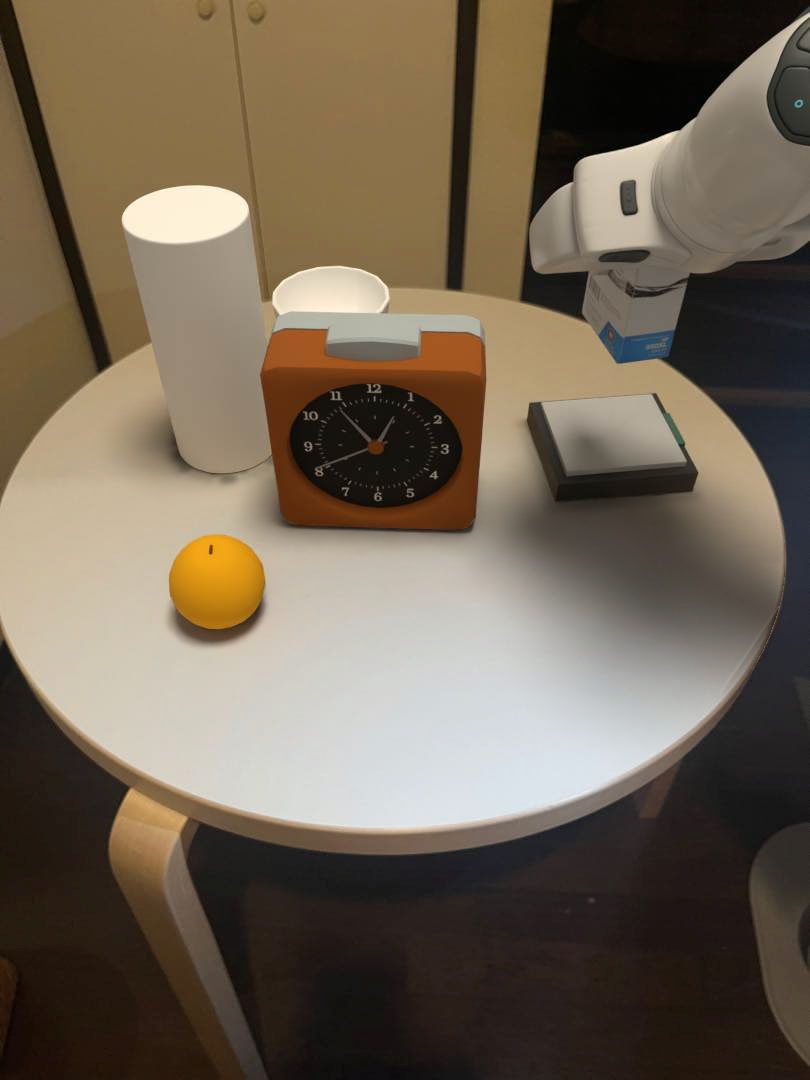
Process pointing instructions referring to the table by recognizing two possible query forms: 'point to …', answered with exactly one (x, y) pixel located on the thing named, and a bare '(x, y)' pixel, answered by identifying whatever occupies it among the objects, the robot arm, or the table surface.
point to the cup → (331, 292)
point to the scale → (610, 447)
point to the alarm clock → (376, 418)
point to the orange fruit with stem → (216, 581)
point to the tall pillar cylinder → (203, 320)
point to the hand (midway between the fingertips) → (635, 263)
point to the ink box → (635, 310)
